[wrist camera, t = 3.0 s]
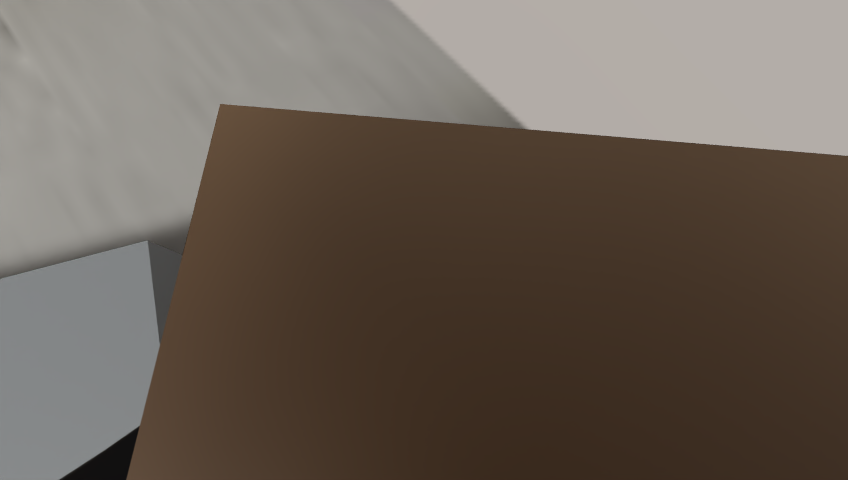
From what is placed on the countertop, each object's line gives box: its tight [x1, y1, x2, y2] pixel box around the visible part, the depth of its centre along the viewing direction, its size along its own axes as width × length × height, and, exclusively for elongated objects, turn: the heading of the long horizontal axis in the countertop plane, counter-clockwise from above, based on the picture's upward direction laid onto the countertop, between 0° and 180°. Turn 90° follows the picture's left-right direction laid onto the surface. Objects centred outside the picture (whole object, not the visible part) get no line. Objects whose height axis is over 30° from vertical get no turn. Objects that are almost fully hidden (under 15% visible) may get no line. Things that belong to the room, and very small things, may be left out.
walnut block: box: [126, 104, 848, 480], centre depth 8 cm, size 4×4×13 cm
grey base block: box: [0, 240, 182, 480], centre depth 13 cm, size 9×9×3 cm
